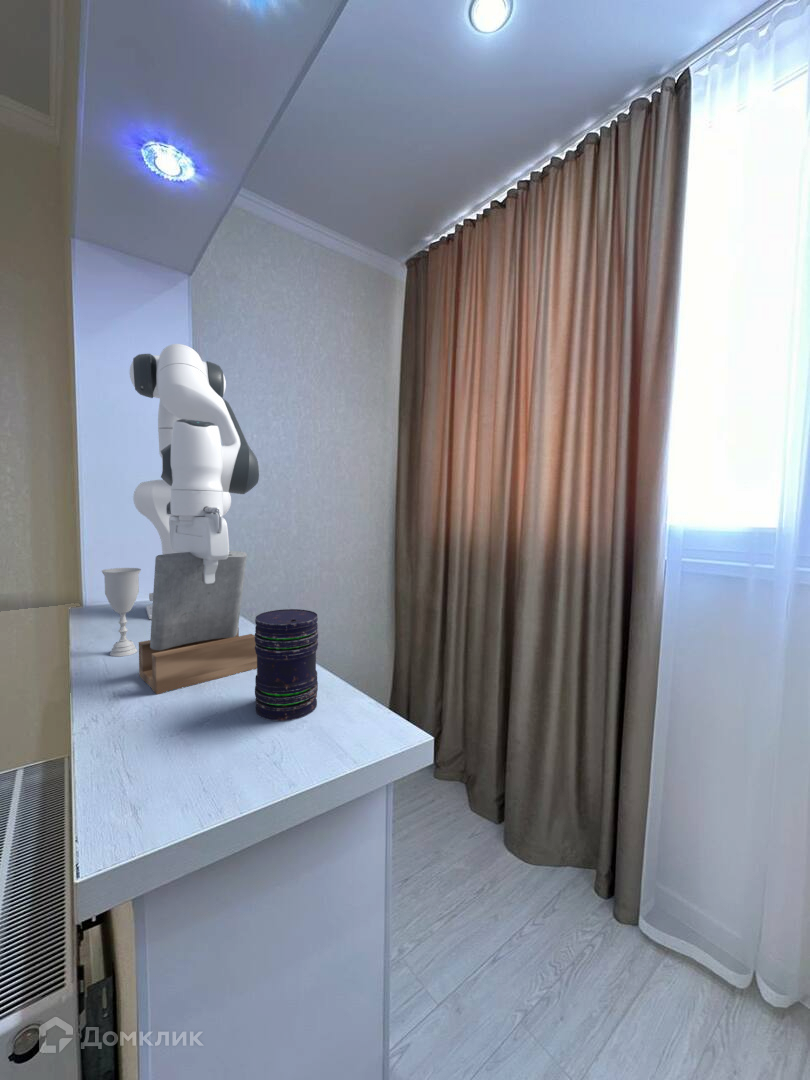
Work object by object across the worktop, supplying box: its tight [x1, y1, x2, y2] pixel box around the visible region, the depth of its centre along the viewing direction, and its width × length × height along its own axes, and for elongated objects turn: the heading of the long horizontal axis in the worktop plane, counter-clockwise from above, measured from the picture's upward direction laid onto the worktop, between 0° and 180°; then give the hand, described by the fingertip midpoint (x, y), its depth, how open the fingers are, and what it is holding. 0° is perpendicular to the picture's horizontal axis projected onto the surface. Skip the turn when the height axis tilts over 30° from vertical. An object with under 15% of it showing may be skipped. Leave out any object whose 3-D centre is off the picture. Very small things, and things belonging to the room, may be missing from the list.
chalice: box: [101, 567, 142, 657], centre depth 93 cm, size 7×7×18 cm
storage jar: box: [254, 608, 319, 722], centre depth 70 cm, size 10×10×15 cm
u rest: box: [138, 626, 257, 695], centre depth 84 cm, size 11×18×6 cm, turn 135°
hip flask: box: [149, 550, 248, 650], centre depth 82 cm, size 16×4×20 cm, turn 133°
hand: (198, 579), depth 82 cm, fingers open, 8 cm apart
